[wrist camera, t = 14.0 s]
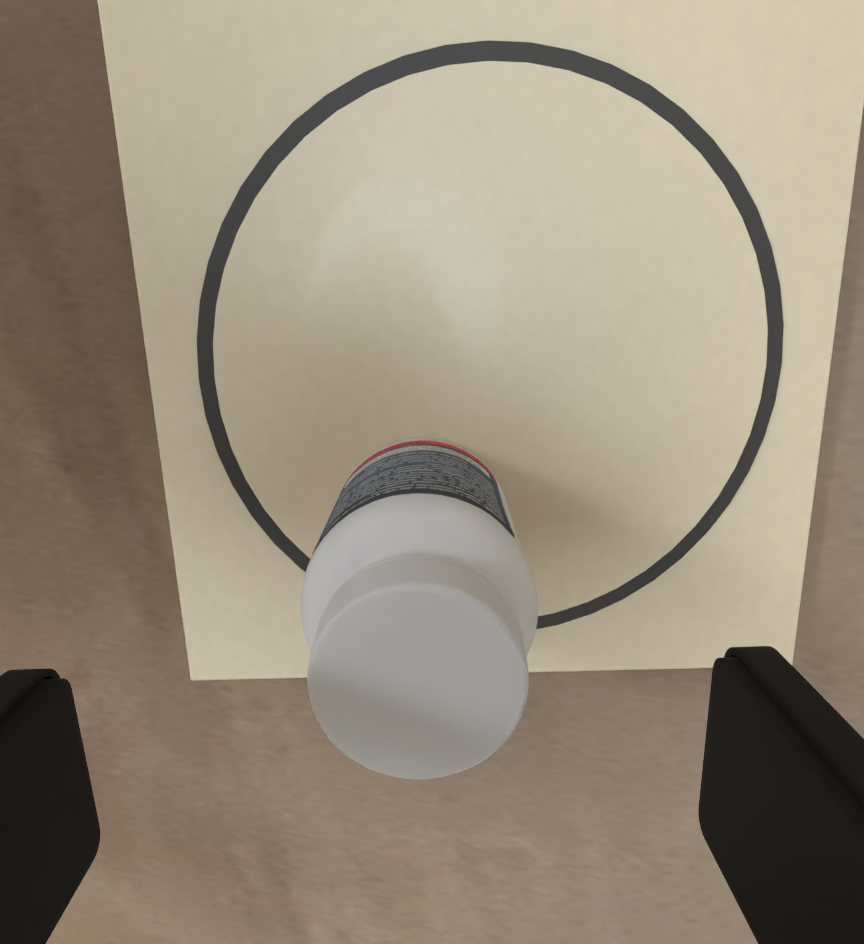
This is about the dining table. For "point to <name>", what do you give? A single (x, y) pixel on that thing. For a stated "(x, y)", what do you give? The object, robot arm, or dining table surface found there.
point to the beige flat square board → (493, 294)
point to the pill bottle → (419, 613)
